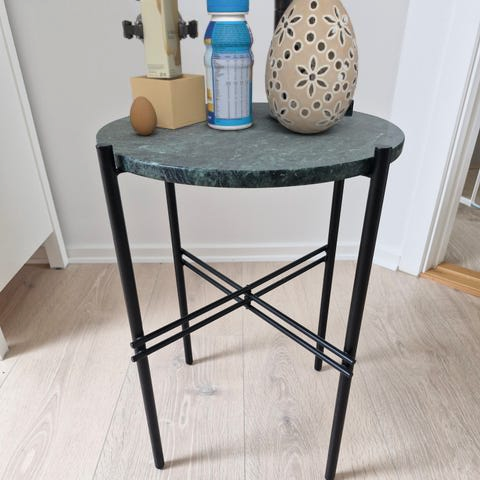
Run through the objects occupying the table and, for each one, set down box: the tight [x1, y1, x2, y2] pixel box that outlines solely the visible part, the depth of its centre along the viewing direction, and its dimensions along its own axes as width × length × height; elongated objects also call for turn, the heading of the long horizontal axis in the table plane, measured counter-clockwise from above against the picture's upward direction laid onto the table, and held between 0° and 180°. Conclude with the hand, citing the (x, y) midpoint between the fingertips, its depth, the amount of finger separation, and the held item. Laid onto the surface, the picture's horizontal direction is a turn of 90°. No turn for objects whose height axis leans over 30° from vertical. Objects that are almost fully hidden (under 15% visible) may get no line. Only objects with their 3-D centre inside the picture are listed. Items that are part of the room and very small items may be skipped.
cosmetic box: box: [139, 0, 183, 79], centre depth 76 cm, size 6×4×12 cm
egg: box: [129, 96, 157, 137], centre depth 74 cm, size 4×4×6 cm
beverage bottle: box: [203, 0, 255, 131], centre depth 76 cm, size 8×8×20 cm
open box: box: [129, 72, 207, 130], centre depth 83 cm, size 9×9×8 cm
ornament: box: [264, 0, 359, 135], centre depth 71 cm, size 15×15×20 cm
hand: (161, 30), depth 74 cm, fingers closed on cosmetic box, 6 cm apart
